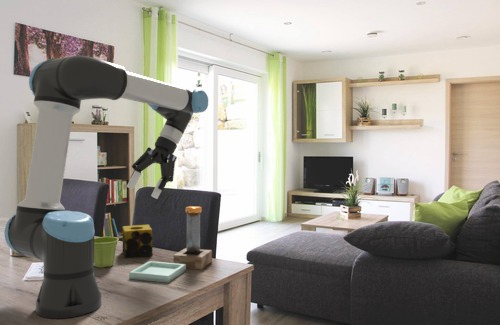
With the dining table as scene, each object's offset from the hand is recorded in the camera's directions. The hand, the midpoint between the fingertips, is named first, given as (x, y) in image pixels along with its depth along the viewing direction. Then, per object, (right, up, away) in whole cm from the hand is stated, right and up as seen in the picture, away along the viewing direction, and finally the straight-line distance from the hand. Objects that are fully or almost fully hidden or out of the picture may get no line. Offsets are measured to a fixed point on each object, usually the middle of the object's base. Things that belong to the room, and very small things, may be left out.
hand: (141, 192), depth 153 cm
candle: (-4, -24, +8) cm, 25 cm away
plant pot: (-11, -24, -7) cm, 27 cm away
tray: (+10, -24, -17) cm, 31 cm away
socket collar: (+19, -24, -5) cm, 31 cm away
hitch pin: (+19, -24, -5) cm, 31 cm away
